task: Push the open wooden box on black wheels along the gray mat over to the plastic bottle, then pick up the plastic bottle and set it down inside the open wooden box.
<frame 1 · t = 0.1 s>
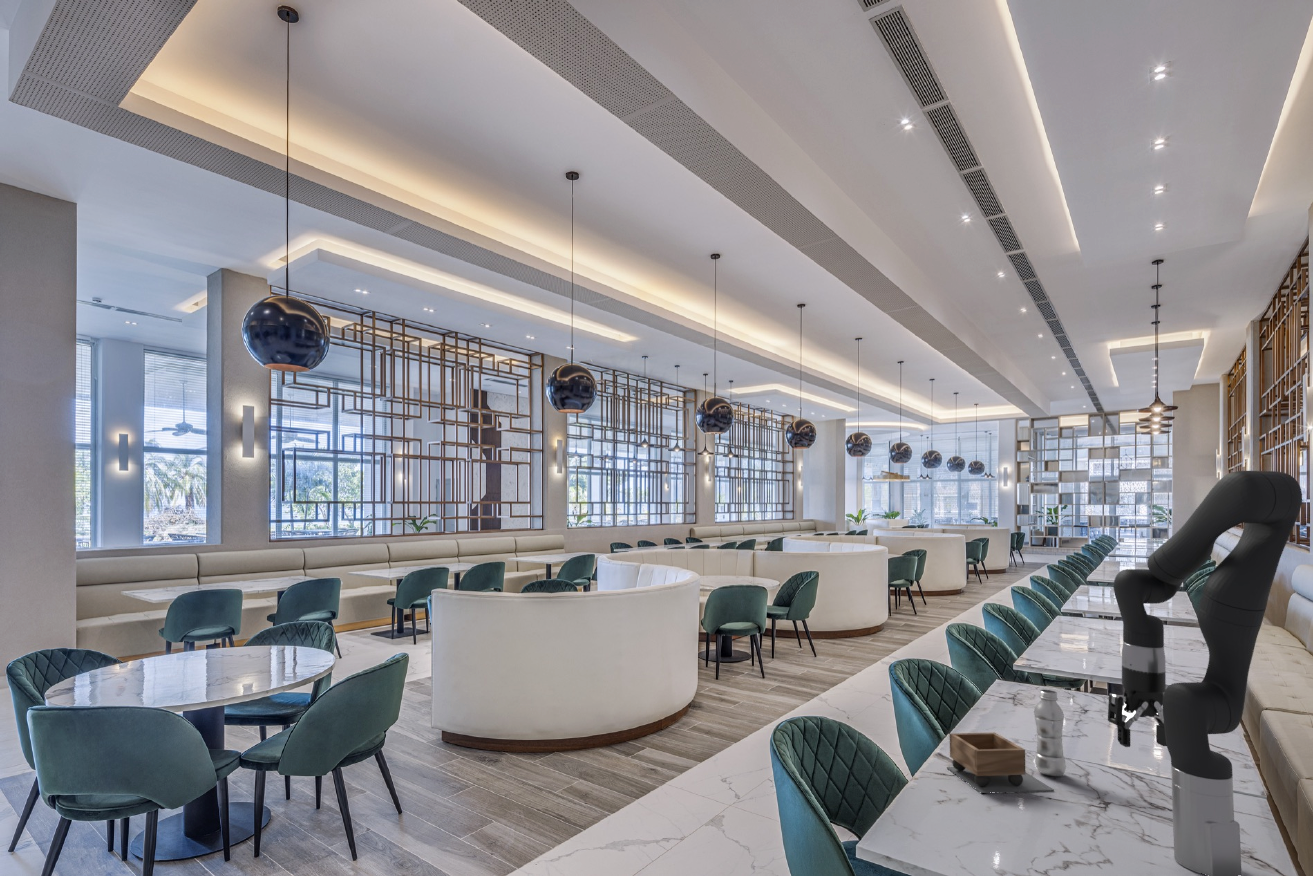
hand: (1143, 745, 148), 17 cm above the table, tool pointing down, fingers open, 8 cm apart
plastic bottle: (1050, 775, 176), on the table
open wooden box: (986, 759, 172), point 5 cm above the table, slide at 0.0 cm
gray mat: (998, 779, 172), on the table
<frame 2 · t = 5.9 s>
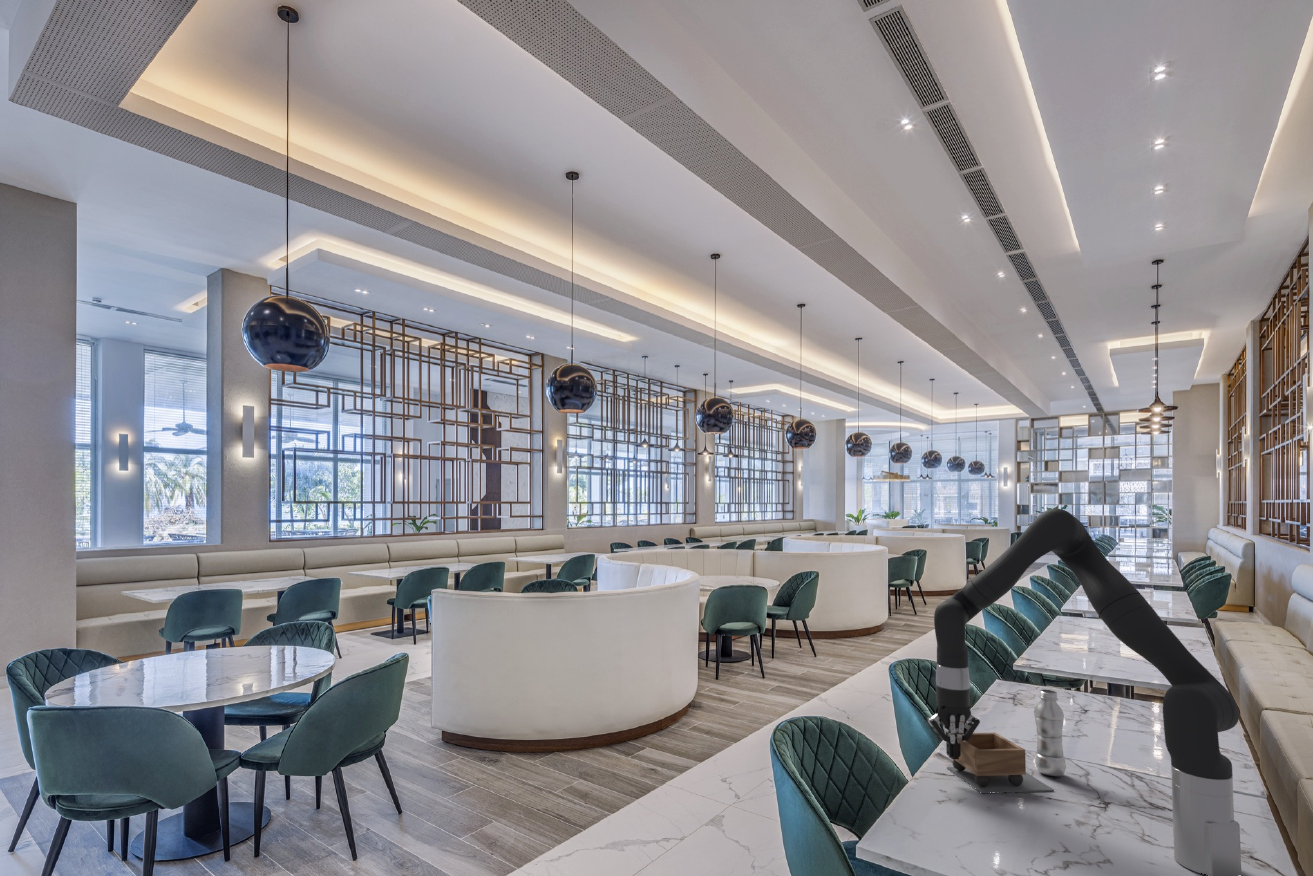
hand: (953, 758, 171), 5 cm above the table, tool pointing down, fingers closed
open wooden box: (986, 759, 172), point 5 cm above the table, slide at 0.1 cm, touching gripper
everything else where it was.
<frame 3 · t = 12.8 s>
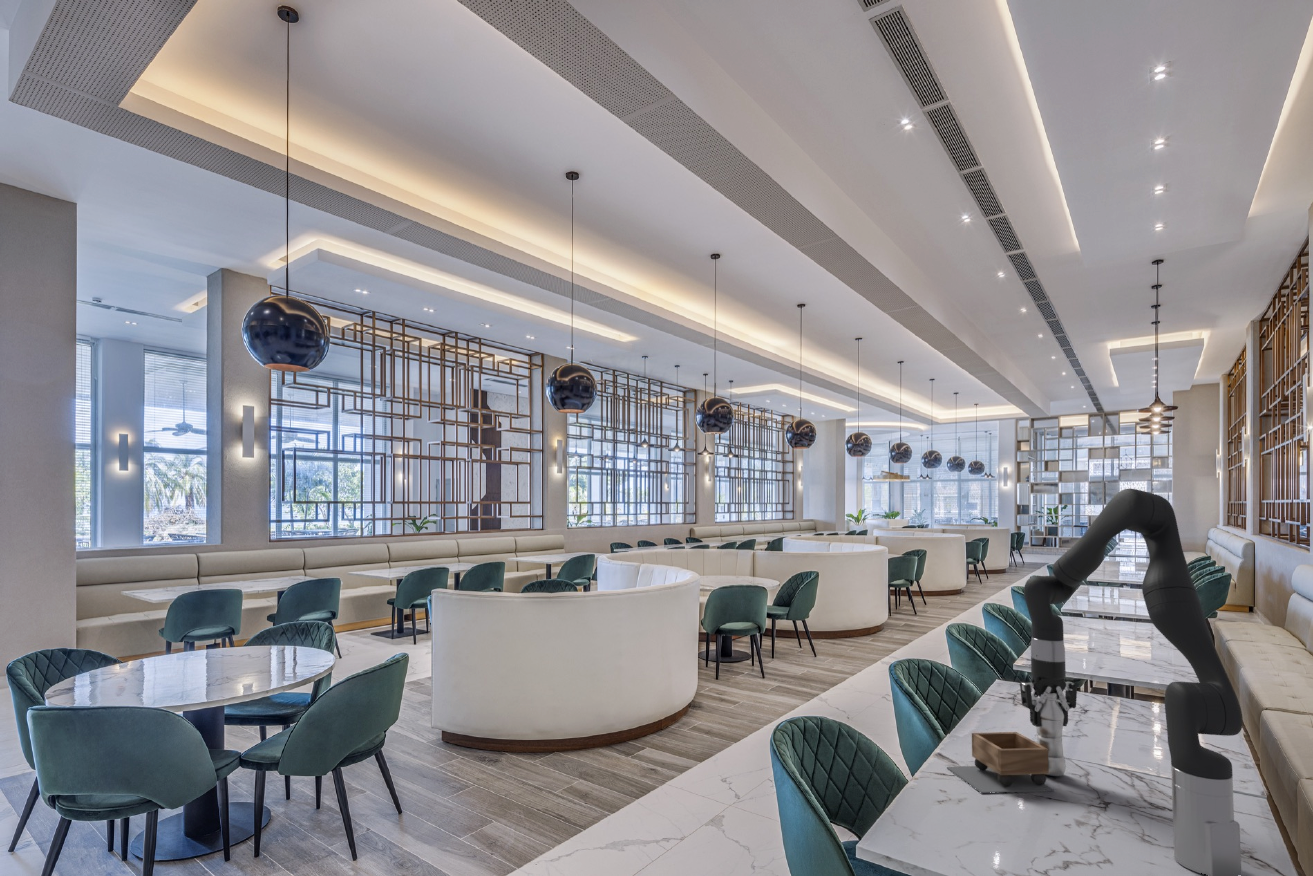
hand: (1049, 725, 177), 12 cm above the table, tool pointing down, fingers closed on plastic bottle, 6 cm apart
plastic bottle: (1050, 775, 176), on the table, touching gripper
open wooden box: (1009, 758, 173), point 5 cm above the table, slide at 5.9 cm
when the fingers open (18 cm above the table, at t = 18.6 s): plastic bottle drops 1 cm, resting on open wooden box.
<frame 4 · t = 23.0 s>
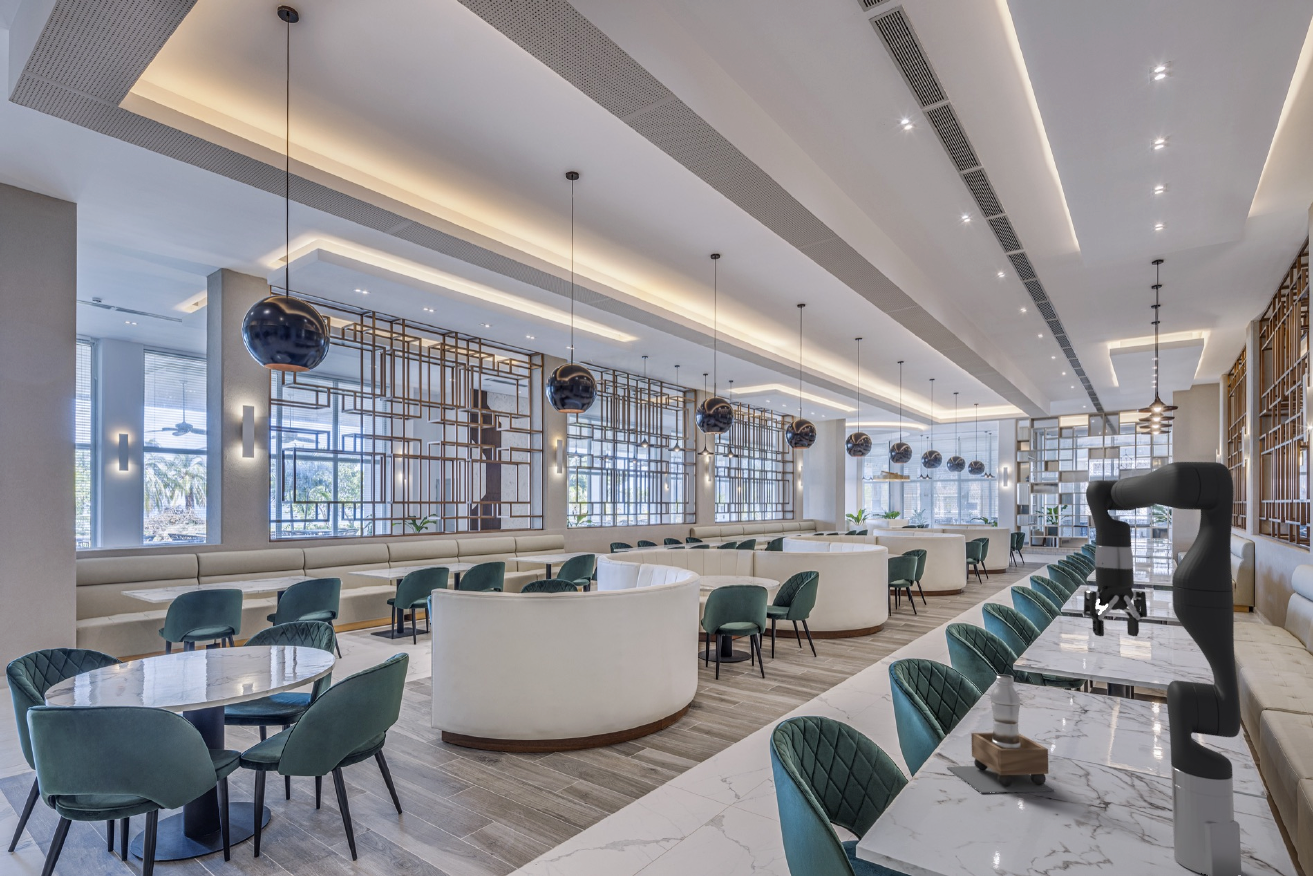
hand: (1116, 635, 167), 36 cm above the table, tool pointing down, fingers open, 8 cm apart
plastic bottle: (1006, 761, 172), point 4 cm above the table, touching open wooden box
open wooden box: (1008, 758, 173), point 5 cm above the table, slide at 5.8 cm, touching plastic bottle
at the end: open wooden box slide at 5.8 cm; plastic bottle inside the target area (0.1 cm from its centre), point 4.2 cm above the table; plastic bottle tilted 0° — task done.
